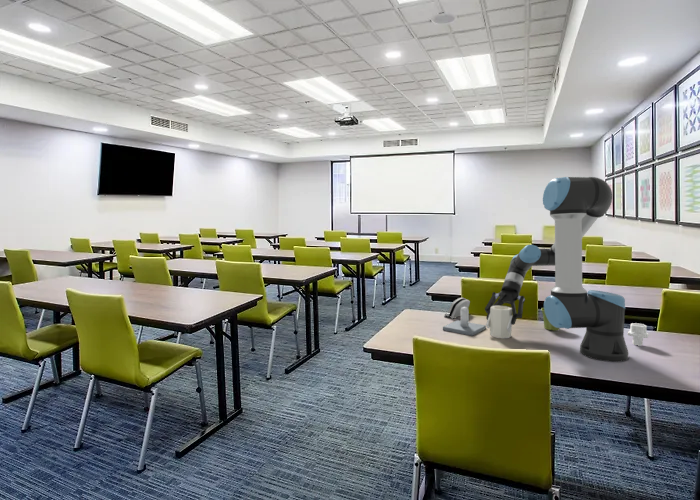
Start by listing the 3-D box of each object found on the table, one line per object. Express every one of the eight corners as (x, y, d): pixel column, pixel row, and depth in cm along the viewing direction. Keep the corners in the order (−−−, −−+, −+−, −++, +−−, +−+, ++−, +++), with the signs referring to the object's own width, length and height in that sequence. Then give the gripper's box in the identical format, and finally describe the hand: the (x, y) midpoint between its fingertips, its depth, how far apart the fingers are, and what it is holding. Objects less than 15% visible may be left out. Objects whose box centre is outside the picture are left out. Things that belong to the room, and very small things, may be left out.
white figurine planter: (626, 345, 161) (627, 325, 161) (628, 341, 167) (629, 321, 166) (646, 348, 157) (647, 328, 157) (648, 344, 163) (649, 324, 162)
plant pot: (568, 330, 182) (569, 311, 181) (550, 332, 180) (551, 313, 179) (553, 325, 191) (554, 306, 190) (535, 326, 189) (536, 308, 188)
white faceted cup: (513, 334, 177) (514, 307, 176) (506, 339, 171) (507, 310, 170) (494, 331, 182) (495, 304, 181) (487, 335, 176) (488, 308, 175)
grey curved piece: (457, 310, 220) (464, 294, 217) (465, 315, 218) (472, 298, 215) (443, 317, 208) (449, 299, 205) (451, 321, 205) (458, 304, 202)
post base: (485, 328, 187) (486, 306, 186) (472, 335, 176) (472, 312, 175) (457, 323, 196) (457, 302, 195) (442, 329, 185) (442, 307, 184)
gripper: (538, 292, 180) (525, 337, 169) (491, 287, 193) (476, 328, 183) (535, 282, 175) (521, 327, 164) (487, 277, 189) (471, 319, 178)
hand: (497, 328), depth 173 cm, fingers closed on white faceted cup, 8 cm apart
